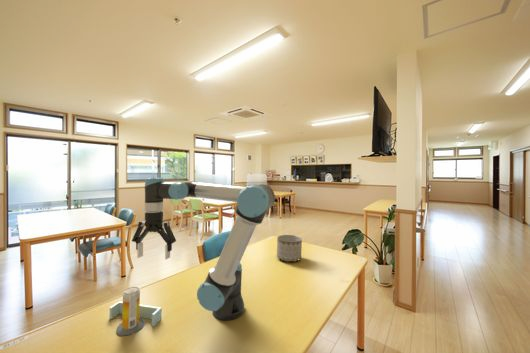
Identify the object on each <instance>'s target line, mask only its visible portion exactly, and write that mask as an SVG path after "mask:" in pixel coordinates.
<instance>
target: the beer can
mask: <svg viewBox="0 0 530 353" xmlns="http://www.w3.org/2000/svg"><path fill="white" fill-rule="evenodd" d="M123 291H124V292H123V294H122V302H123V311H122V314H121V316H122V317H121V318H122V319H121V323H122V327H123V328H124V329H125V330H130V329H133V328H135V327H136V326H137V324H138V323H139V318H140V317H139V306H140V301H141V300H140V298H141V296H140V295H141V290H140V288H139V287H138V286H131V287H128V288H126V289H125V290H123Z"/></svg>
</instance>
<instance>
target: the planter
mask: <svg viewBox="0 0 530 353" xmlns="http://www.w3.org/2000/svg"><path fill="white" fill-rule="evenodd" d="M276 239H277V240H276V257H277V259H278V260H280V259H281V260H280V261H283V260H285V261H284V262H289V261H294V262H296V261H295V260H298V259H300V258H301V259H302V248H303V247H302V245H303V244H302V241H303V238H302V237H300V236H298V235H293V234H282V235H278V236H277V238H276ZM301 259H300V260H301ZM298 261H299V260H298Z"/></svg>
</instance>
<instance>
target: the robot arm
mask: <svg viewBox="0 0 530 353" xmlns="http://www.w3.org/2000/svg"><path fill="white" fill-rule="evenodd" d="M185 198H201V199H206V200H207V199H209V200H215V201H217V200H218V201H225V202H233V203H236V205H237V207H236V209H235V211H234V213H235V215H236V219H235V220H234V223H233V225H232V226H231V227H232V228H231V230H230V231H229V235H228V236H227V239H226V241H225V243H224V245H223V248H222V251H221V253H220V255H219V256H218V259H217V261H216V265H214V266H212V267H210V269H209V271H208V273H207V274H206V275H207V276H206V278H205V281H204V282H203V283H201V284H200V285H199V287H198V288H197V290H196V299H197V300H198V303H199V305H200V306H201V307H202V308H203V309H205V311H209V312H212V315H213V316H214V318H216V319H217V320H221V321H231V320H236V319H238V318H240V317H241V316H242V315H243V314H244V312H245V302H244V299H243V295H242V277H243V276H242V274H243V273H242V271H243V268H242V267H243V266H242V264H241V261H242V258H243V256H244V253H245V252H246V250H247V248H248V247H247V246H248V245H249V242H250V241H251V239H252V236H253V233H254V231H255V229H256V227H257V225H260V224H262V223H263V221H264V219H265V216H266V214H267V212H268V210H270V209H271V208H273V205H274V204H275V202H276V201H275V200H276V195H275V192H274V190H273V189H272V187H270V185H266V184H248V185H247V186H241V185H240V186H239V185H230V184H218V183H217V184H216V183H208V182H198V181H171V182H170V181H169V182H167V181H166V182H165V181H164V178H163V177H146V178H145V180H144V220H142V221H139V222H138V224H137V229H136V230H135V232H134V235H133V237H132V239H131V242H134V243H135V247H136V248H135V250H136V254H137V259H139V258H142V257H143V256H144V241H143V240H144V238H145V237H146V236H147V235H148V234H149V233H152V232H153V233H157V234H159V235H160V237H161V238H162V240H163V241H164V242H165V243H166V244H165V245H164V247H165V248H164V252H165V254H164V258H165V260H169V259H170V258H171V251H172V249H173V247H172V246H173V244H174V243H175V242H177V239H176V237H175V234H174V233H173V230H172V228H171V225H170V222H169V221H165V222H164V221H163V219H164V211H163V210H164V200H165V199H166V200H177V201H178V200H184V199H185ZM144 227H145V229H144Z"/></svg>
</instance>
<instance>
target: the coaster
mask: <svg viewBox="0 0 530 353" xmlns="http://www.w3.org/2000/svg"><path fill="white" fill-rule="evenodd" d="M144 325H145V320H144V319H143V318H142V317H139V323H138V324H137V326H136V327H135V328H133V329H130V330H125V329H124V328H123V327H122V322H120V324H118V325H117V327H116V330H115V332H116V334H117V335H118V336H120V337H122V336H123V337H127V336H132V335H134V334H136V333H138V332H139V331H141V330H142V329H143V328H144Z"/></svg>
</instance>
